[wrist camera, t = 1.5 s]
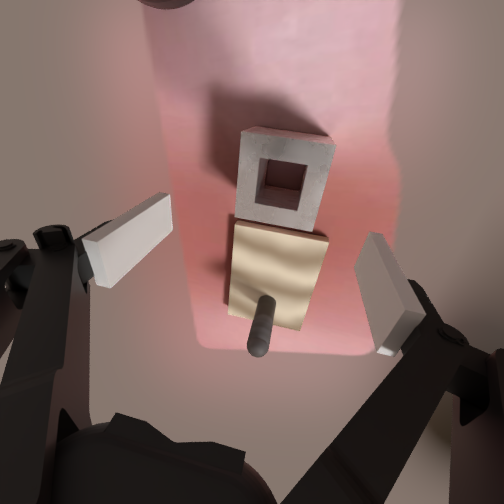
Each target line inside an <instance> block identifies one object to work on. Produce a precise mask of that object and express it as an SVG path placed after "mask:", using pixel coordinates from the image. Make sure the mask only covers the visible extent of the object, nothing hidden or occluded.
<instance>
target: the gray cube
mask: <svg viewBox="0 0 504 504" xmlns="http://www.w3.org/2000/svg"><path fill="white" fill-rule="evenodd" d="M335 148H336V144H335V143H334V141H333V140H332V138H331V137H329V136H322V135H315V134H308V133H301V132H294V131H287V130H280V129H273V128H266V127H259V126H254V127H251V128H249V129H246V130H243V131H241V140H240V153H239V166H238V179H237V193H236V206H235V217H237V218H242V219H247V220H253V221H258V222H263V223H268V224H274V225H279V226H284V227H290V228H295V229H300V230H305V231H311V232H312V231H313V227H314V224H315V220H316V216H317V213H318V209H319V206H320V202H321V198H322V195H323V191H324V188H325V184H326V180H327V177H328V173H329V170H330V166H331V162H332V159H333V155H334V152H335ZM268 159H272V160H279V161H285V162H291V163H298V164H304V165H306V166H305V170H304V175H303V179H302V184H301V188H300V191H297V190H291V189H285V188H280V187H274V186H268V185H265V179H266V172H267V165H268Z"/></svg>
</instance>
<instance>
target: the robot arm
mask: <svg viewBox="0 0 504 504" xmlns="http://www.w3.org/2000/svg"><path fill="white" fill-rule="evenodd" d="M138 1H140V2H141V3H144V4H146V5H148V6H151V7H154V8H159V9H175V8H179V7H182V6H185V5H187V4H189V3H191V2H193V1H194V0H138ZM172 230H173V225H172V214H171V201H170V194H166V193H161V192H159V193H157V194H155V195H154V196H152V197H151V198H149V199H147V200H145V201H144V202H142V203H140V204H139V205H137V206H135V207H134V208H132V209H130V210H129V211H127V212H126V213H124V214H122V215H121V216H119V217H117V218H116V219H113V220H110V221H107V222H104V223H102V224H101V225H99V226H98V227H97V228H94V229H92V230H91V231H89V232H87V233H86V234H84V235H82V236H80V237H79V238H77V239H75V240H73V237H72V235H71V231H70V229H69V227H68V226H66V225H50V226H45V227H42V228H39V229H38V230H36V231H35V232H34V233H33V235H34V238H35V240H36V242H37V244H38V246H39V249H27V247H26V245H25V243H24V241H22V240H19V239H10V240H7V239H6V240H3V241H0V358H1V357H2V355H3V354H4V352H5V351H6V349H7V347H8V346H9V344H10V343H11V341H12V340H13V338H14V340H13V344H12V347H11V350H10V353H9V357H8V360H7V364H6V367H5V371H4V374H3V377H2V381H1V384H0V504H277V502H276V500H275V498H274V496H273V494H272V492H271V490H270V488H269V487H268V486H267V484H266V482H265V481H264V480H263V478H262V477H261V476H260V475H259V473H258V472H256V470H255V469H253V468H252V467H251V466H250V465H249V464H247V463H246V462H245V461H244V458H245V453H246V452H244V451H241V450H238V449H234V448H232V447H228V446H225V445H222V444H218V443H215V442H186V443H185V442H183V443H176V442H173V441H171V440H170V439H169V438H167V437H166V436H165V435H163V434H162V433H161V432H159V431H158V430H157V429H155V428H154V427H153V426H151V425H150V424H149V423H147V422H146V421H143V420H139V419H136V418H133V417H129V416H126V415H123V414H120V413H115V415H114V416H113V418H112V420H111V421H110V422H106V423H100V424H96V425H92V423H91V419H90V413H89V355H90V354H89V351H90V344H89V343H90V285H89V282H88V280H90V279H91V278H92V277H93V276H94V278H95V281H96V284H97V285H99V286H103V287H107V288H111V287H113V286H114V284H116V283H117V282H118V281H119V280H120V279H121V278H122V277H123V276H124V275H125V274H126V273H127V272H129V271H130V270H131V269H132V268H133V267H134V266H135V265H136V264H137V263H138V262H139V261H140V260H141V259H142V258H143V257H145V256H146V255H147V254H148V253H149V252H150V251H151V250H152V249H153V248H154V247H155V246H156V245H157V244H158V243H160V241H162V240H163V239H164V238H165V237H166V236H167V235H168V234H169V233H170V232H171V231H172ZM354 269H355V273H356V277H357V280H358V284H359V288H360V292H361V295H362V299H363V303H364V307H365V310H366V314H367V318H368V322H369V326H370V329H371V333H372V337H373V341H374V344H375V348H376V352H377V353H381V354H385V355H389V356H393V357H395V355H396V354H397V353H398V351H399V350H400V349H401V350H402V353H403V357H402V359H401V360H400V361H399V362H398V363H397V365H396V366H395V367H394V368H393V369H392V370H391V372H390V373H389V374H388V375H387V376H386V378H385V379H384V380H383V382H382V383H381V384H380V385H379V386H378V387H377V389H376V390H375V391H374V392H373V393H372V395H371V396H370V397H369V398H368V399H367V401H366V402H365V403H364V404H363V405H362V407H361V408H360V409H359V410H358V412H357V413H356V414H355V415H354V416H353V418H352V419H351V420H350V421H349V422H348V424H347V425H346V426H345V427H344V428H343V430H342V431H341V432H340V433H339V435H338V436H337V437H336V438H335V439H334V440H333V442H332V443H331V444H330V445H329V446H328V447H327V448H326V449H325V451H324V452H323V453H322V454H321V455H320V457H319V458H318V459H317V460H316V461H315V463H314V464H313V465H312V466H311V467H310V469H309V470H308V471H307V472H306V473H305V475H304V476H303V477H302V478H301V480H300V481H299V482H298V483H297V484H296V485H295V487H294V488H293V489H292V490H291V492H290V493H289V494H288V495H287V496H286V497H285V499H284V500H283V501H282V502H281V503H280V504H384V502H385V500H386V498H387V497H388V495H389V493H390V491H391V489H392V488H393V486H394V484H395V482H396V480H397V478H398V477H399V475H400V473H401V471H402V469H403V468H404V466H405V464H406V462H407V460H408V458H409V457H410V455H411V453H412V451H413V449H414V447H415V446H416V444H417V442H418V440H419V438H420V437H421V434H422V433H423V431H424V429H425V427H426V426H427V424H428V422H429V420H430V418H431V416H432V415H433V413H434V411H435V409H436V407H437V406H438V404H439V402H440V400H441V398H442V396H443V395H444V393H445V391H448V392H450V393H452V394H453V411H452V435H451V436H452V437H451V464H450V487H449V504H504V349H502V348H500V349H497V350H496V351H494V352H493V353H492V354H488V353H486V352H484V351H481V350H479V349H477V348H474V347H472V346H470V345H469V342H468V341H467V338H466V337H465V336H464V335H463V334H462V333H461V332H460V331H458V330H457V329H455V328H454V327H452V326H450V325H448V324H445V323H444V322H443V321H442V319H441V317H440V316H439V314H438V312H437V311H436V309H435V307H434V306H433V304H432V303H431V301H430V299H429V297H427V294H426V293H425V291H424V289H423V288H422V287H421V286H420V285H419V284H418V283H417V282H416V281H414V280H410V279H407V278H406V276H405V274H404V273H403V271H402V269H401V267H400V265H399V264H398V262H397V260H396V258H395V256H394V254H393V252H392V251H391V249H390V247H389V245H388V243H387V241H386V240H385V238H384V236H383V234H380V233H375V232H369V234H368V236H367V238H366V241H365V243H364V245H363V248H362V250H361V252H360V254H359V257H358V259H357V261H356V264H355V266H354ZM5 286H6V288H5Z"/></svg>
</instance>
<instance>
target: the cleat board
mask: <svg viewBox="0 0 504 504" xmlns="http://www.w3.org/2000/svg"><path fill="white" fill-rule="evenodd" d="M328 244H329V239H328V237H323V236H318V235H313V234H307V233H302V232H297V231H292V230H287V229H281V228H276V227H271V226H266V225H260V224H255V223H250V222H245V221H239V220H237V222H236V223H235V229H234V242H233V255H232V268H231V280H230V293H229V306H228V314H229V315H234V316H238V317H242V318H246V319H250V320H253V322H252V326H251V330H250V334H249V338H248V341H247V349H248V351H249V353H250V354H251V355H252V356H255V357H262V356H264V355H265V354H266V353H267V351H268V349H269V344H270V338H271V332H272V326H273V325H276V326H280V327H284V328H288V329H292V330H297V331H300V329H301V326H302V323H303V320H304V317H305V314H306V311H307V308H308V305H309V302H310V299H311V296H312V293H313V290H314V287H315V284H316V281H317V278H318V275H319V272H320V269H321V265H322V262H323V259H324V256H325V253H326V250H327V247H328Z"/></svg>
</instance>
